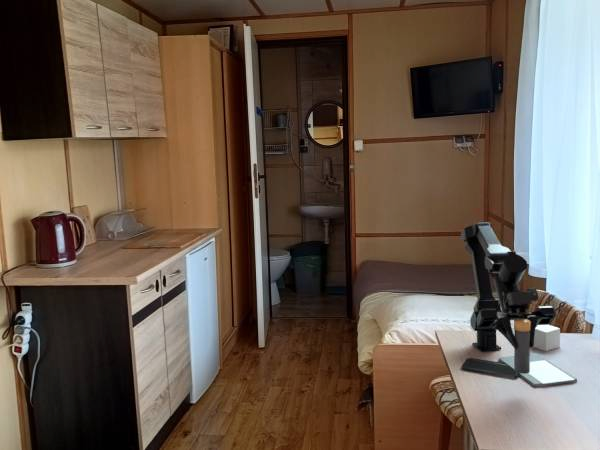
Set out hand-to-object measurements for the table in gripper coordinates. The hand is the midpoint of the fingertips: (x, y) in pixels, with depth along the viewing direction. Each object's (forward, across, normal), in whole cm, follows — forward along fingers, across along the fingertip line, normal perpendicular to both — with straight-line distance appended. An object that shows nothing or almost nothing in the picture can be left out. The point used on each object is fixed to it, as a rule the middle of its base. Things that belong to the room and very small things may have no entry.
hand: (524, 347), depth 131 cm
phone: (-2, -3, +20) cm, 20 cm away
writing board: (-1, +8, +18) cm, 20 cm away
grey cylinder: (+4, 0, +6) cm, 7 cm away
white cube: (-13, +18, +31) cm, 38 cm away
